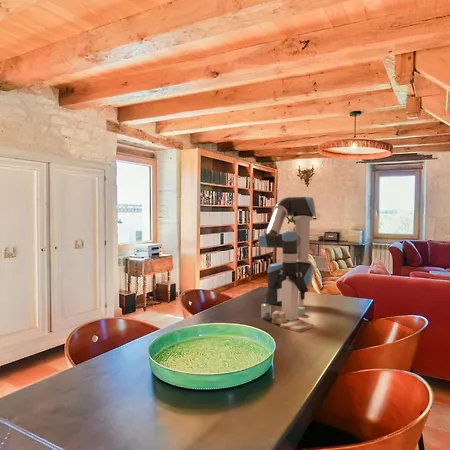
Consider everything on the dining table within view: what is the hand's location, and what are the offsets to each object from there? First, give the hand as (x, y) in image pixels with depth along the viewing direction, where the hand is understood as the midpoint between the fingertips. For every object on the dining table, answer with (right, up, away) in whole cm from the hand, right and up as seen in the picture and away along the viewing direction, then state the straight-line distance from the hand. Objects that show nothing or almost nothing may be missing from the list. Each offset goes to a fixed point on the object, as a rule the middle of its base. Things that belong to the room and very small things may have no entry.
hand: (290, 303), depth 188 cm
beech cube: (-7, -8, -6) cm, 12 cm away
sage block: (+5, -8, +8) cm, 12 cm away
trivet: (+1, -8, -13) cm, 16 cm away
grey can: (-12, -8, +1) cm, 14 cm away
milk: (0, -8, 0) cm, 8 cm away
